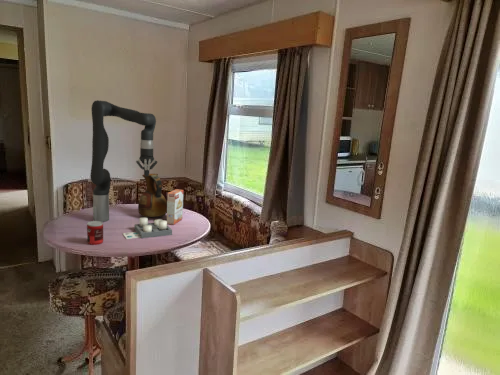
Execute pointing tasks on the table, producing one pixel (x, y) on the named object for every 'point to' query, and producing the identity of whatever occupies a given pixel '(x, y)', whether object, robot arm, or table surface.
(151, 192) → the ceramic pitcher
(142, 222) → the button
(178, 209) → the cracker box
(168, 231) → the board
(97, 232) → the canned food
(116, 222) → the table surface
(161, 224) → the button
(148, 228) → the button
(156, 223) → the button
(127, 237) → the card
